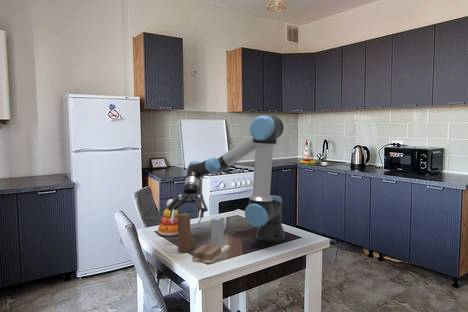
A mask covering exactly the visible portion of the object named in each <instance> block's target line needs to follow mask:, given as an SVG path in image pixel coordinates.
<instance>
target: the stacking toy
mask: <svg viewBox="0 0 468 312" xmlns="http://www.w3.org/2000/svg"><path fill="white" fill-rule="evenodd" d="M173 200H174V198H170V199H168V200H167V201H166V208H165V209H164V211H163V213H162V216H161V219H160V223H159V225H158V228H157V230H156V231H157V233H158V234H159V235H160V236H161V235H162V236H165V237H166V236H168V237H173V236H178V215H179V212H178V209H176V210H175V216H174V222H173V224H172V223H171V216H170V212H171V211H169V210H168V206H169V205H170V203H171V202H172V201H173Z"/></svg>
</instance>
